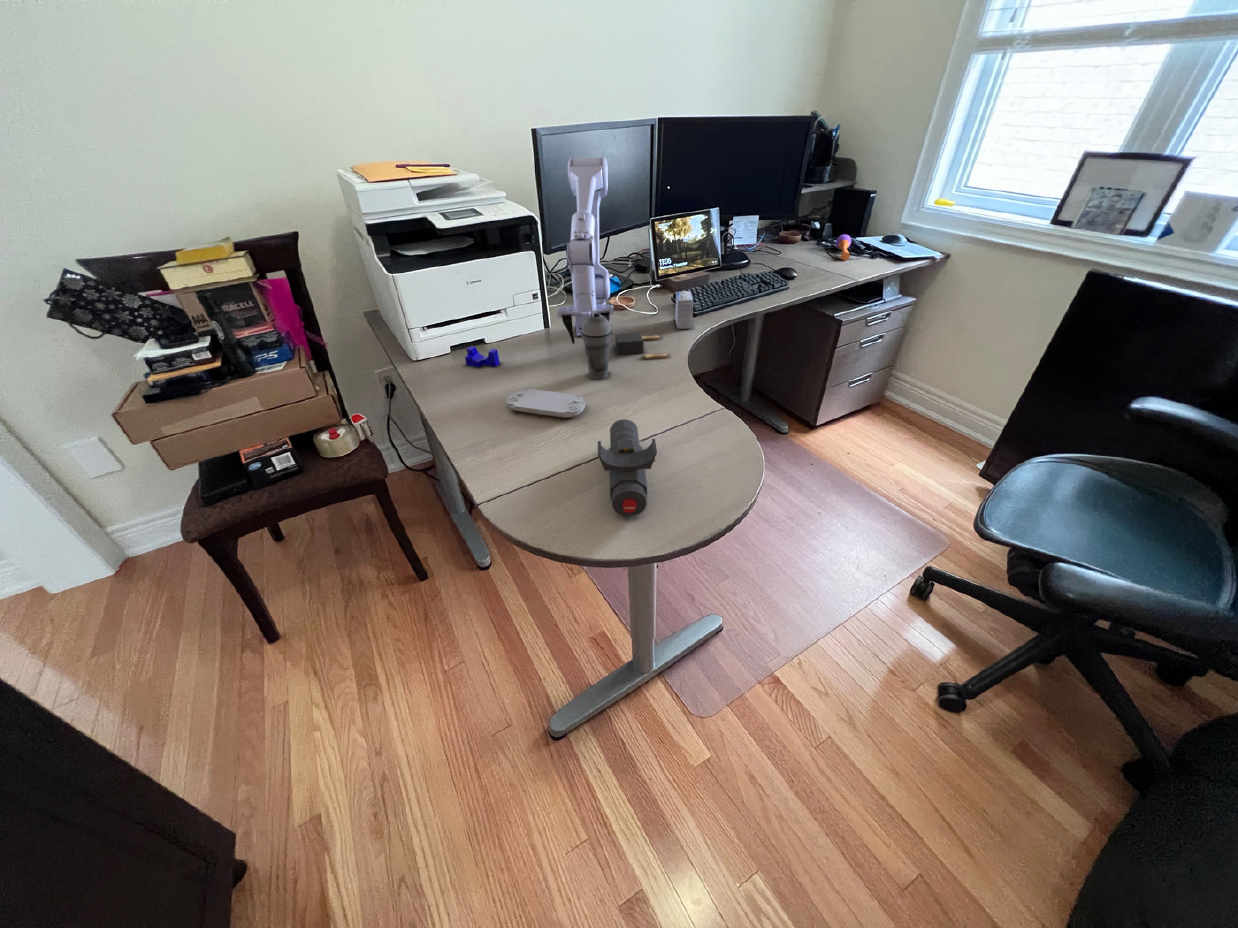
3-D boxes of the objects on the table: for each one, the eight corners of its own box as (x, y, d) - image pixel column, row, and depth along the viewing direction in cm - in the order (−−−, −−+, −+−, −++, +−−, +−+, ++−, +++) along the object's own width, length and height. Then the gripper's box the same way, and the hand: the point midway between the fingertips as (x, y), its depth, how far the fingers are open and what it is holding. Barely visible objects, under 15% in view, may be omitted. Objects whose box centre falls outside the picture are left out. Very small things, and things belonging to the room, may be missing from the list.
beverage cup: (609, 383, 121) (606, 302, 108) (581, 380, 122) (574, 300, 110) (615, 369, 126) (613, 291, 114) (588, 367, 127) (582, 290, 115)
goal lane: (645, 359, 131) (645, 356, 130) (638, 338, 141) (638, 336, 141) (667, 357, 131) (667, 355, 131) (658, 337, 142) (658, 335, 141)
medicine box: (691, 329, 146) (693, 300, 140) (676, 329, 146) (678, 300, 141) (689, 319, 152) (691, 291, 147) (674, 319, 152) (676, 291, 147)
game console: (589, 394, 112) (576, 412, 105) (589, 403, 113) (577, 422, 107) (517, 385, 116) (501, 402, 110) (518, 394, 117) (502, 411, 111)
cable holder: (466, 365, 130) (463, 351, 128) (473, 359, 133) (470, 346, 131) (493, 369, 128) (490, 355, 126) (499, 363, 131) (497, 349, 128)
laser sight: (648, 442, 100) (648, 400, 94) (658, 520, 82) (660, 473, 76) (600, 444, 100) (597, 402, 94) (600, 522, 82) (597, 476, 76)
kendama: (837, 250, 194) (835, 233, 209) (836, 265, 198) (835, 248, 212) (854, 247, 192) (851, 231, 206) (853, 263, 196) (850, 246, 210)
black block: (617, 354, 133) (617, 342, 131) (615, 345, 138) (614, 333, 136) (643, 353, 134) (643, 340, 131) (640, 343, 138) (640, 332, 136)
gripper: (555, 297, 121) (560, 349, 129) (613, 294, 122) (615, 345, 130) (555, 288, 127) (560, 338, 135) (611, 285, 128) (613, 334, 136)
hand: (587, 341), depth 133 cm, fingers open, 7 cm apart
